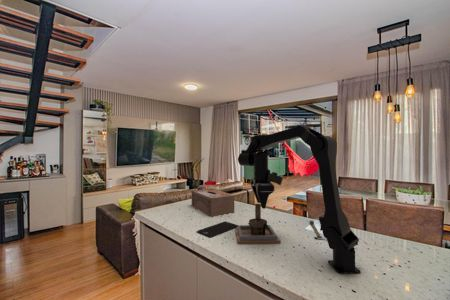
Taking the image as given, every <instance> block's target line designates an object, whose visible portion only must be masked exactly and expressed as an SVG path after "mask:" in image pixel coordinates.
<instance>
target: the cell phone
mask: <svg viewBox="0 0 450 300" xmlns="http://www.w3.org/2000/svg"><path fill="white" fill-rule="evenodd" d="M237 225H238V224H237V223H236V224H235V223H233V222H230V221H226V220H225V221H223V222H219V223H215V224H213V225H210V226H208V227H205V228H201V229H199V230H196V233H197V234H199V235H201V236H204V237H206V238H209V239H211V238H214V237H217V236H220V235H222V234H224V233H227V232H229V231H232V230H235V228H237Z"/></svg>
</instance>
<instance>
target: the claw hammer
mask: <svg viewBox="0 0 450 300" xmlns="http://www.w3.org/2000/svg"><path fill="white" fill-rule="evenodd" d="M309 224H310V226H311V228H312V230H313V231H314V234H315V235H316V236H314V237H313V238H314V240H318V241H326V240H327V239H326V238H325V237H323V236H321V234H320V232H319V231H318V228H317V227H316V225H315V221H313V220H309Z"/></svg>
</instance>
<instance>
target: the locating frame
mask: <svg viewBox="0 0 450 300" xmlns="http://www.w3.org/2000/svg"><path fill="white" fill-rule="evenodd" d="M236 225H237V229H238V234H239V238H240V240H277V237H278V235H277V234H276V232H275V231H274V229H273V228H272V226H271V225H270V224H267V225H268V227H267V228H266V229H268V230H269V232H270V233H271V235H242V232H241V230H251V227H250V226H249V224H246V225H245V224H244V225H243V224H242V225H238V224H236Z"/></svg>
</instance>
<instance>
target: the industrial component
mask: <svg viewBox="0 0 450 300" xmlns="http://www.w3.org/2000/svg"><path fill="white" fill-rule="evenodd" d="M254 206H255V207H254V209H255V211H254V213H255V217H254V218H251V219H249V220H248V222H247V223H248V224H247V225H249V226H250V227H251V234H253V235H265V229H266V228H267V227H268V225H269V224H268V221H267V220H266V219H264V218H262V217H261V215H262V214H261V212H262V211H261V209H262V206H261V204H260V203H255V205H254Z"/></svg>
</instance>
